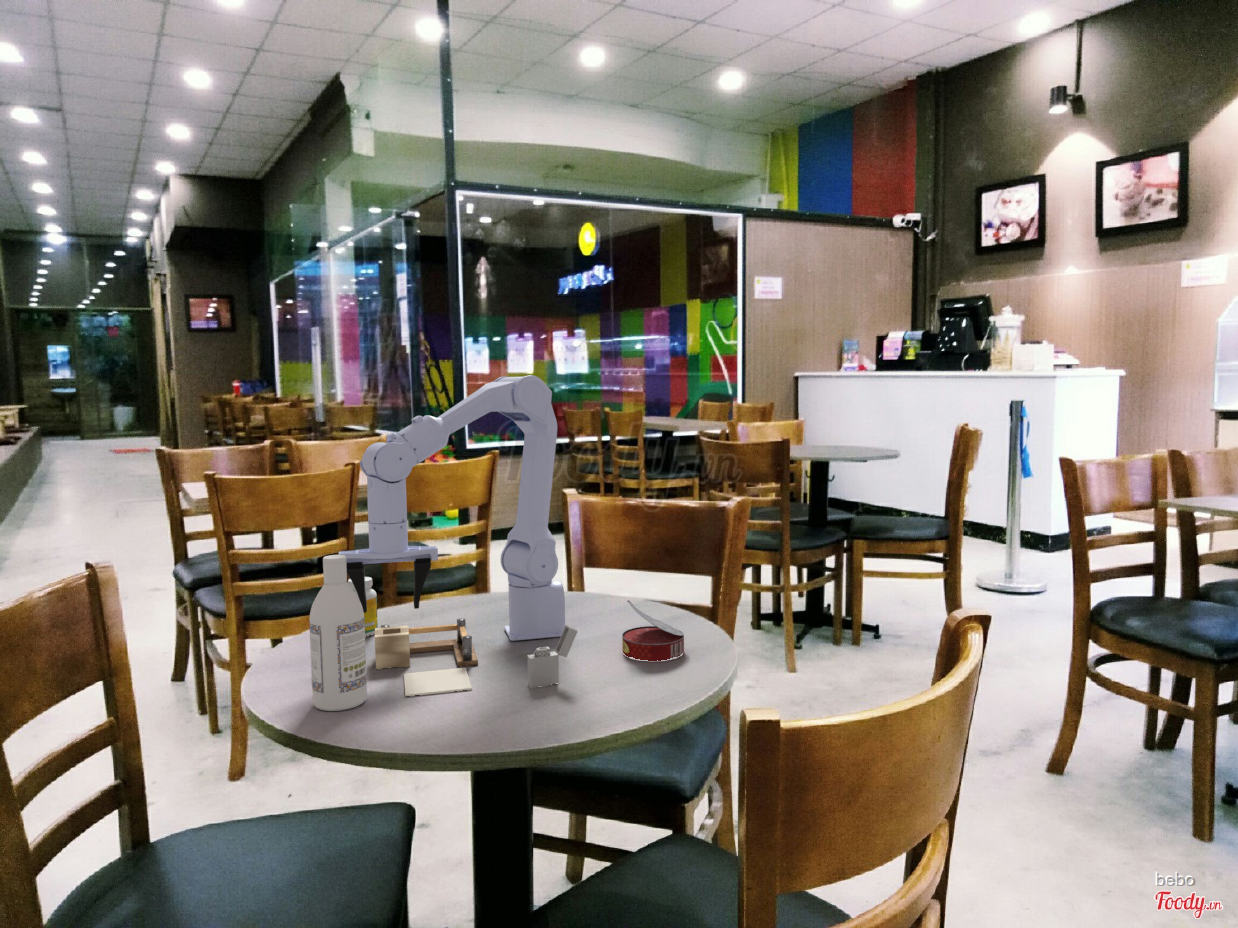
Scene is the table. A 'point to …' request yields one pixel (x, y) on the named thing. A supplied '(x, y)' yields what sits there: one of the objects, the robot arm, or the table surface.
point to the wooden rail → (447, 642)
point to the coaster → (436, 682)
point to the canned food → (652, 640)
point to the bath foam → (337, 641)
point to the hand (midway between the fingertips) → (390, 609)
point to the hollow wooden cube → (392, 647)
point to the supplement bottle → (369, 606)
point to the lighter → (549, 660)
